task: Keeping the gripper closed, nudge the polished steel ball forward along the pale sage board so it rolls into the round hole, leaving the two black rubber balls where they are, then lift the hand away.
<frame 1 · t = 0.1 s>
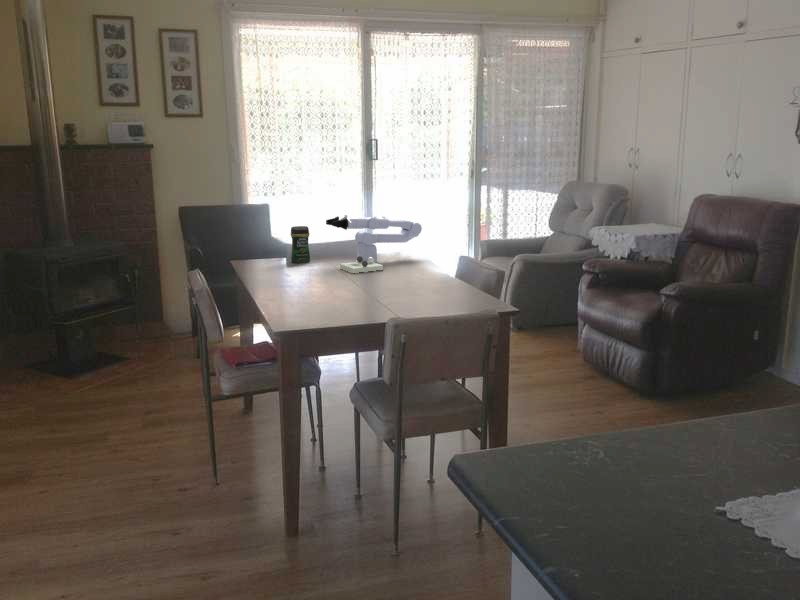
hand: (329, 222, 359), 22 cm above the table, tool horizontal, fingers open, 7 cm apart
coffee jar: (301, 262, 376), on the table
black rubber ball 2: (364, 263, 348), point 4 cm above the table, touching sage board
steel ball: (370, 260, 356), point 4 cm above the table, touching sage board
sage board: (361, 269, 354), on the table
black rubber ball 1: (359, 259, 359), point 4 cm above the table, touching sage board
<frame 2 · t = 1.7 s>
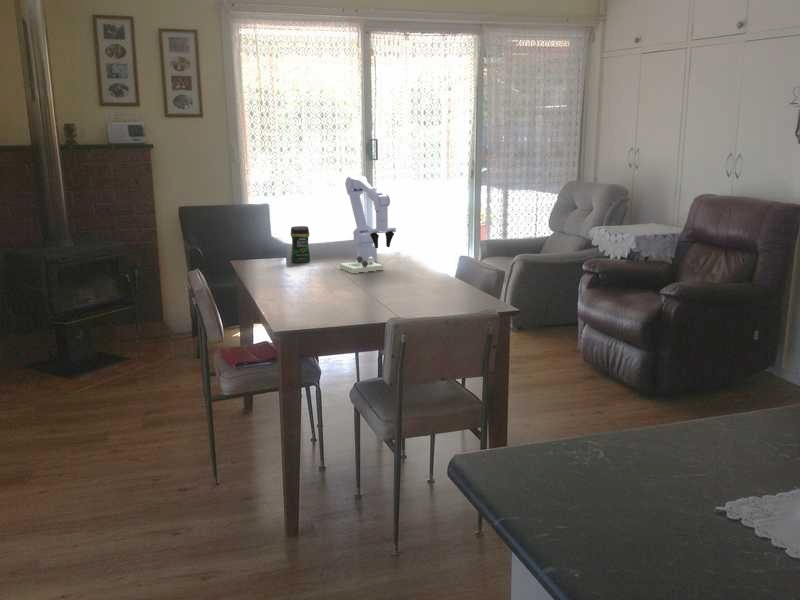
hand: (382, 247, 357), 10 cm above the table, tool pointing down, fingers open, 6 cm apart
nothing on the table moved.
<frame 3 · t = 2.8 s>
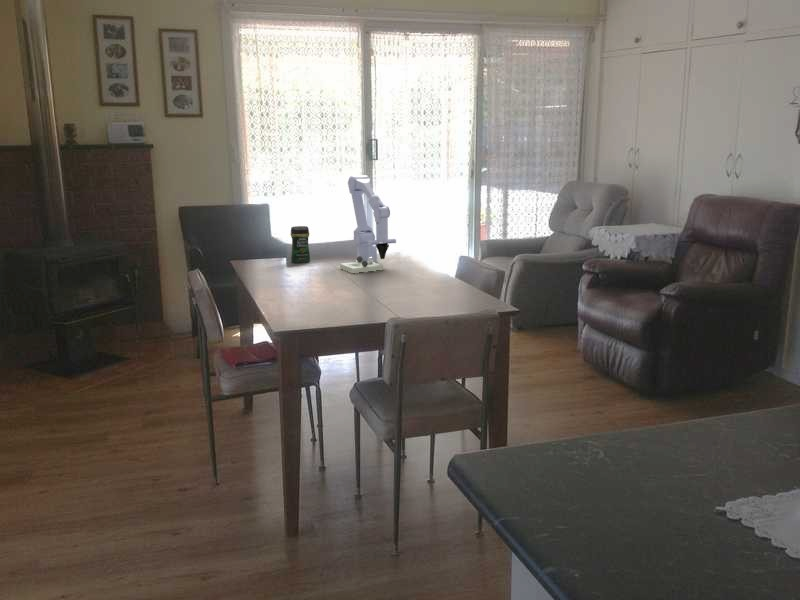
hand: (382, 258, 359), 4 cm above the table, tool pointing down, fingers closed
nothing on the table moved.
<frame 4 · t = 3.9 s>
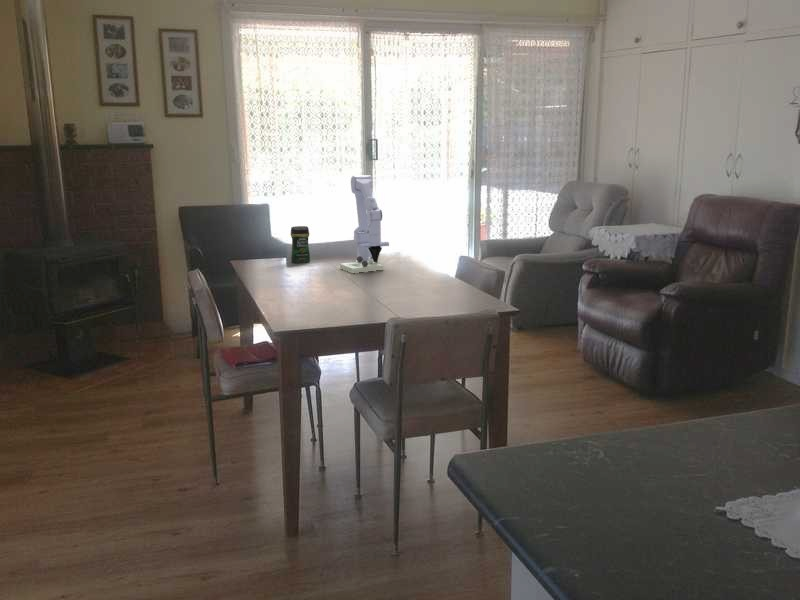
hand: (375, 261, 357), 3 cm above the table, tool pointing down, fingers closed, pressing on steel ball
steel ball: (370, 260, 356), point 4 cm above the table, touching gripper, sage board
everything else where it was.
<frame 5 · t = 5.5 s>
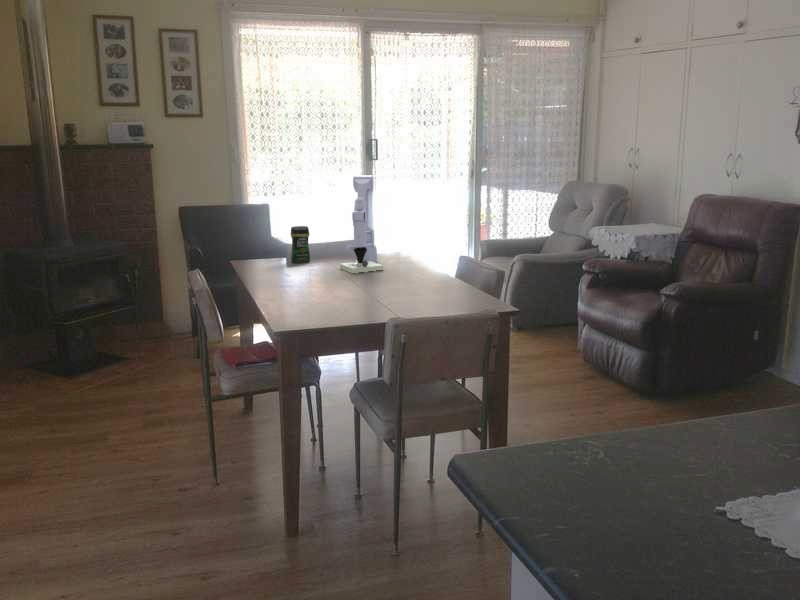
hand: (360, 263, 353), 3 cm above the table, tool pointing down, fingers closed
steel ball: (356, 266, 353), point 2 cm above the table, tilted 131°
everything else where it was.
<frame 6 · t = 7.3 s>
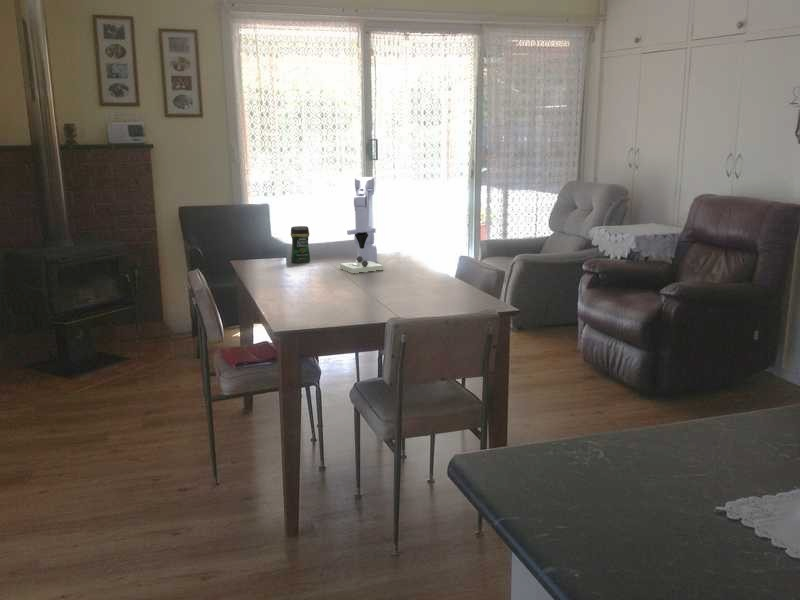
hand: (361, 248, 356), 10 cm above the table, tool pointing down, fingers closed
steel ball: (355, 267, 352), point 2 cm above the table, tilted 99°
everything else where it was.
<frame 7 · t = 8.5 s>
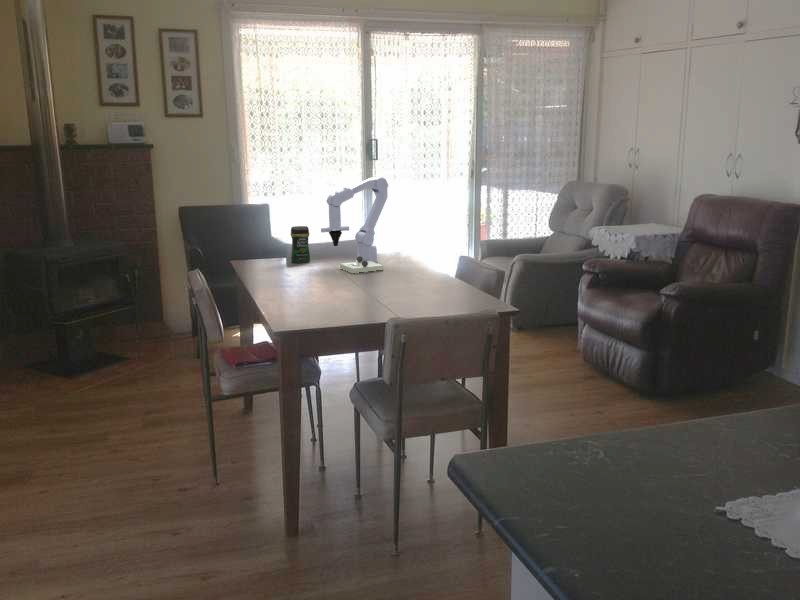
hand: (335, 245, 364), 10 cm above the table, tool pointing down, fingers closed
steel ball: (355, 267, 352), point 2 cm above the table, tilted 104°
everything else where it was.
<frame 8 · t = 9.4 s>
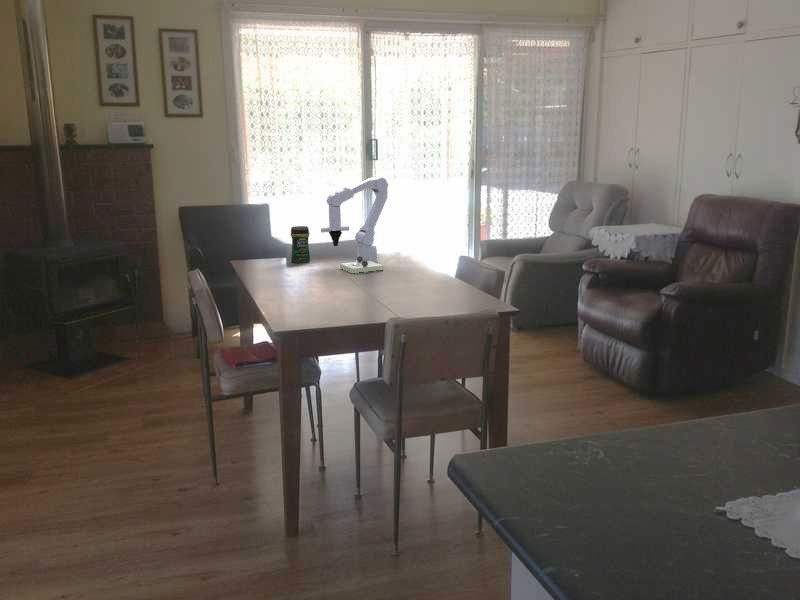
hand: (335, 245, 364), 10 cm above the table, tool pointing down, fingers closed
nothing on the table moved.
at the end: steel ball 0.3 cm from the target spot in the sage board, point 1.6 cm above the sage board's base; black rubber ball 2 moved 0.0 cm from its start; black rubber ball 1 moved 0.0 cm from its start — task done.
